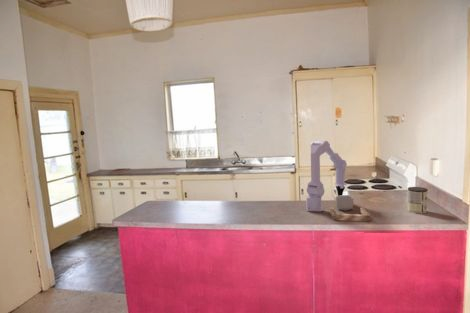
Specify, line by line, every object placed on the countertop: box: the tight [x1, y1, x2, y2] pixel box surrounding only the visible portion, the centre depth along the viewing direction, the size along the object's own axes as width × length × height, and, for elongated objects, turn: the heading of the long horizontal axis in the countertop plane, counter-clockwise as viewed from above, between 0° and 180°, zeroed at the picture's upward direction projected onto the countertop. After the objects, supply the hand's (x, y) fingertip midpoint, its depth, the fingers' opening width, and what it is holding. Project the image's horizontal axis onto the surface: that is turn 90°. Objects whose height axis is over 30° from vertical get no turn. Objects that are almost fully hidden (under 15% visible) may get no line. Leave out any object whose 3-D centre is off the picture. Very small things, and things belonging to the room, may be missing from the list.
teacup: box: [334, 194, 354, 212], centre depth 200 cm, size 14×11×8 cm
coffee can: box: [407, 186, 428, 215], centre depth 190 cm, size 10×10×14 cm
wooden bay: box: [329, 206, 372, 222], centre depth 184 cm, size 20×17×3 cm
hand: (340, 196), depth 214 cm, fingers closed
